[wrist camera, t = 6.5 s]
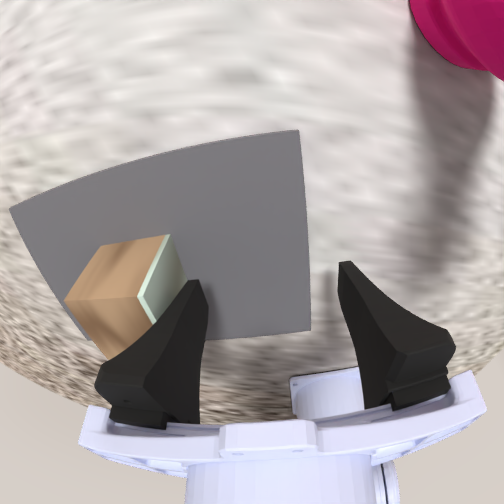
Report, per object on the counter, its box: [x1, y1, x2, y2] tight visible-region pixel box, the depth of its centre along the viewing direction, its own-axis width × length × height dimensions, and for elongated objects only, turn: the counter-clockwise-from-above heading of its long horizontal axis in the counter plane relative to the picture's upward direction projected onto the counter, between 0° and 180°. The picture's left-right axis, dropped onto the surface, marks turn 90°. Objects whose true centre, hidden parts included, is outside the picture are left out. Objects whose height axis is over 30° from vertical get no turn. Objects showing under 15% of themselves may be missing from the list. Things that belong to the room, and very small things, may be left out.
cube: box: [64, 234, 188, 360], centre depth 15 cm, size 5×5×5 cm
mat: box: [9, 130, 311, 340], centre depth 17 cm, size 14×20×1 cm
